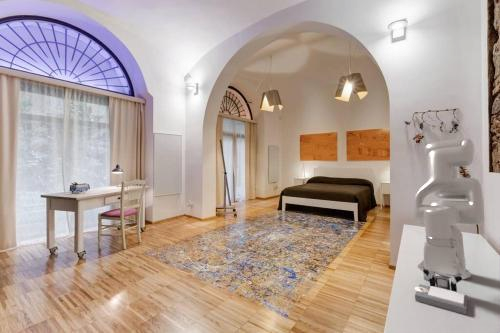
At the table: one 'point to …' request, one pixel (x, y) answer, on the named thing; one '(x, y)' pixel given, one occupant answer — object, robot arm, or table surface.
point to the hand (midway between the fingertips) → (443, 290)
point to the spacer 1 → (427, 276)
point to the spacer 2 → (442, 282)
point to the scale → (442, 298)
